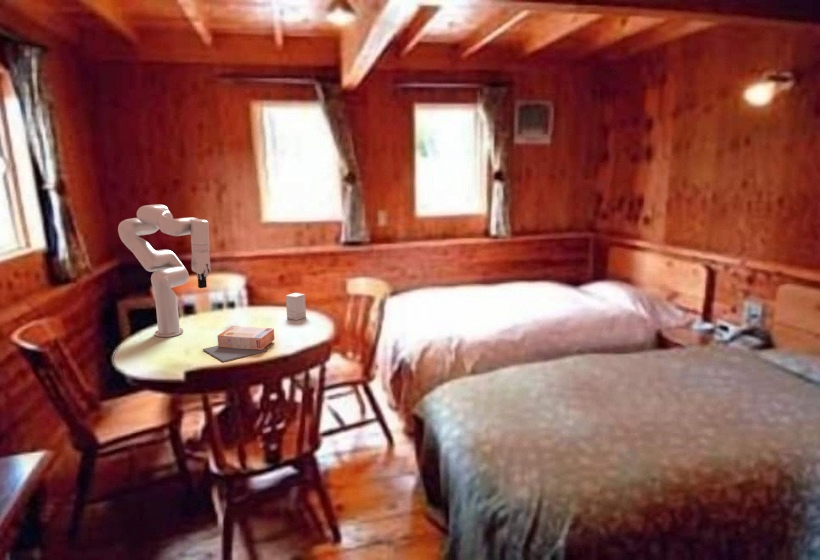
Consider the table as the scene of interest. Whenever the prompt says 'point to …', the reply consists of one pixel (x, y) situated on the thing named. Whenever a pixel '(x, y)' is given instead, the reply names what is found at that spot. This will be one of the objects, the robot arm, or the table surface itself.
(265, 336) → the cracker box
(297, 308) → the supplement box
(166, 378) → the table surface
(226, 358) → the mat
